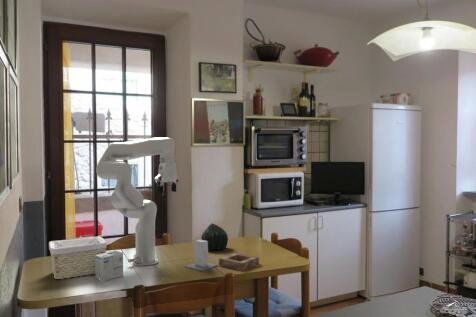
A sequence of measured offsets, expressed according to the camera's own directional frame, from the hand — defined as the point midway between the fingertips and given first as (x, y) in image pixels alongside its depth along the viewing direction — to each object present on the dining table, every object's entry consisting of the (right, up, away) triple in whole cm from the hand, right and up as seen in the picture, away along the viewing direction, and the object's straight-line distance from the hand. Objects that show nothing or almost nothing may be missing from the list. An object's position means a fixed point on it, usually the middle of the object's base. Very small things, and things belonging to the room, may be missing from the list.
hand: (167, 192), depth 228 cm
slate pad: (+21, -34, -24) cm, 47 cm away
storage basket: (-36, -35, -34) cm, 60 cm away
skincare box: (+20, -34, -25) cm, 47 cm away
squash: (+25, -33, +10) cm, 43 cm away
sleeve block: (+39, -34, -22) cm, 56 cm away
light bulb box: (-19, -35, -41) cm, 57 cm away
